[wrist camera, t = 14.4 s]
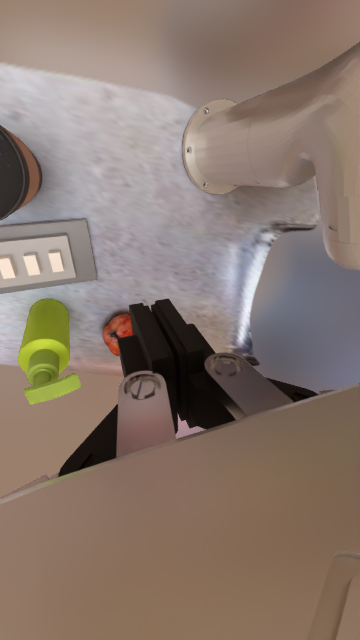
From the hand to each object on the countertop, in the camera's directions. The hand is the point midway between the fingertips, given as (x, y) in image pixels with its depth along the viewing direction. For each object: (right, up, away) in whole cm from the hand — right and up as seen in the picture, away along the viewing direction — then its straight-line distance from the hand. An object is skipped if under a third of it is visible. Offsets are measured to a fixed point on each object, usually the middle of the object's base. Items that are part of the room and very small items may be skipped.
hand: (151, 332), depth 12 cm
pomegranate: (-10, -1, +39) cm, 41 cm away
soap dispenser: (-20, +2, +34) cm, 39 cm away
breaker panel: (-20, +10, +29) cm, 37 cm away
